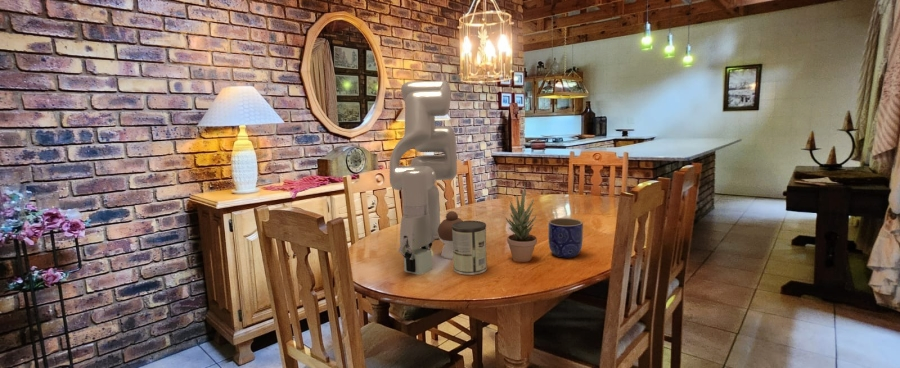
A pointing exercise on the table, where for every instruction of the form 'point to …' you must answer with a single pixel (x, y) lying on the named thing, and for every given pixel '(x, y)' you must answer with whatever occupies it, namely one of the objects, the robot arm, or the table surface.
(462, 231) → the coffee can
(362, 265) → the table surface
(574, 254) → the planter
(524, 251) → the potted plant
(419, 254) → the sage block
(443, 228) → the figurine
